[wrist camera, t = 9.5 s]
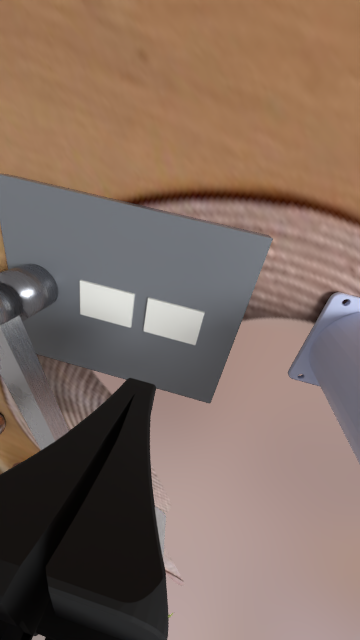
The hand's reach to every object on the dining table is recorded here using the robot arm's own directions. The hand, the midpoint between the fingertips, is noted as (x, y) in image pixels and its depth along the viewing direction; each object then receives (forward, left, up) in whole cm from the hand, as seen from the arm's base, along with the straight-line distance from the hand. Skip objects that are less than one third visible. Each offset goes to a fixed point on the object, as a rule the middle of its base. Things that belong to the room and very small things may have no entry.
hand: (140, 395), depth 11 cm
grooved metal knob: (+12, 0, -9) cm, 15 cm away
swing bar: (+9, +7, -5) cm, 13 cm away
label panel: (+5, 0, -9) cm, 10 cm away
